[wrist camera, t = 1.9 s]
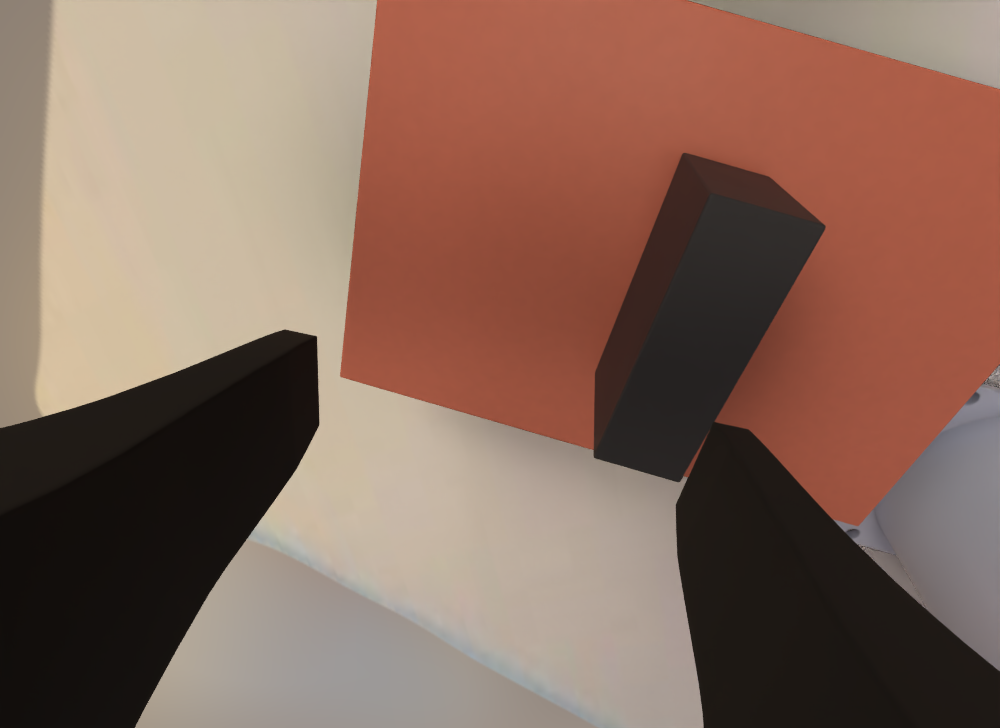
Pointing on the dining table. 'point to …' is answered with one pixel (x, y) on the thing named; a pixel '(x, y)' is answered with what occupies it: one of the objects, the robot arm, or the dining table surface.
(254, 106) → the dining table surface
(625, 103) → the lunchbox lid
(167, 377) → the robot arm
